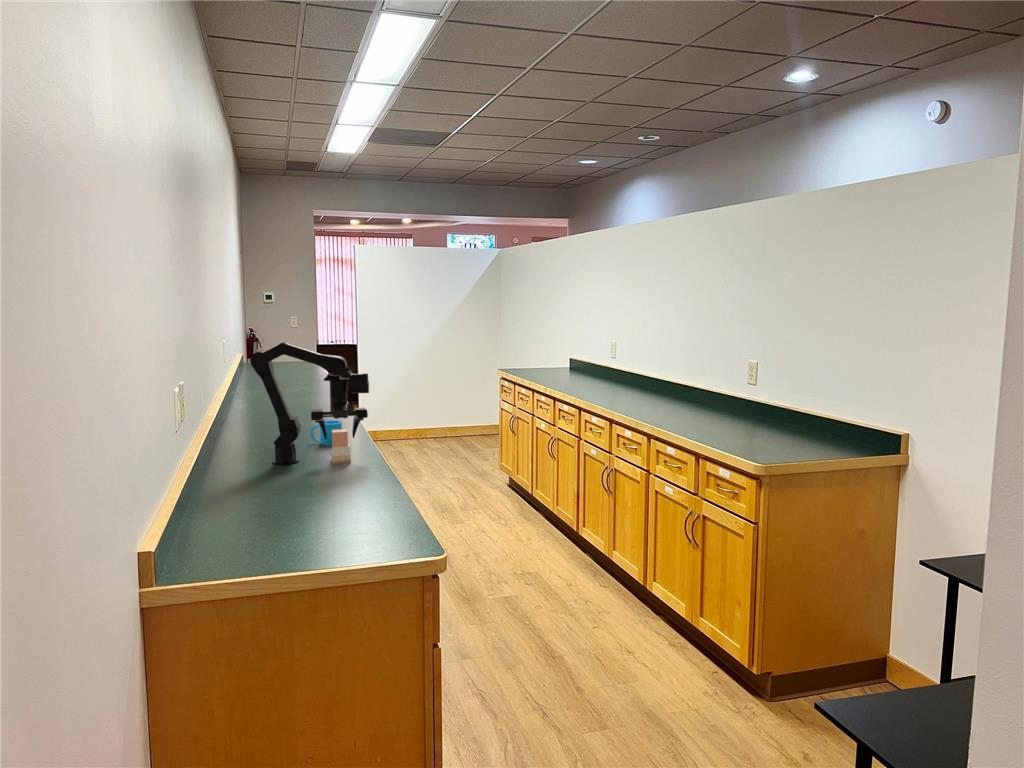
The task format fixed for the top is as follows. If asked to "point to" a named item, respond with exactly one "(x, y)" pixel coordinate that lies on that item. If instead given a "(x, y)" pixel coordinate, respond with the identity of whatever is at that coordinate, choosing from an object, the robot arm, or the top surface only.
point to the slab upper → (341, 450)
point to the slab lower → (341, 459)
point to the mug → (327, 431)
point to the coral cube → (340, 438)
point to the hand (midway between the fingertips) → (339, 438)
